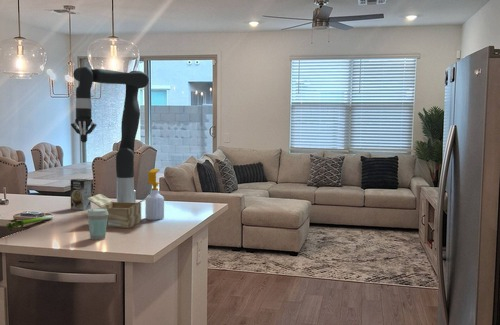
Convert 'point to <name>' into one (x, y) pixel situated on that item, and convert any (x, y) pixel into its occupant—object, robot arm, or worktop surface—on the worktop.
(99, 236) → the coffee cup
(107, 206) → the wooden box
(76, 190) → the coffee box
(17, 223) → the celery stalk
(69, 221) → the worktop surface
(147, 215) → the soap bottle
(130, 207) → the flap
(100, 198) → the flap
